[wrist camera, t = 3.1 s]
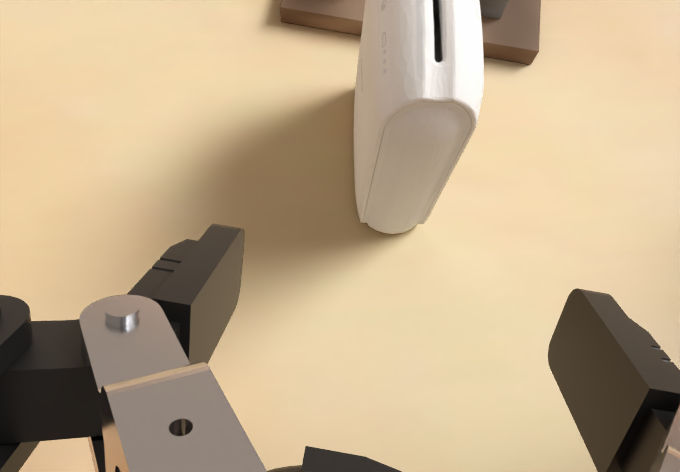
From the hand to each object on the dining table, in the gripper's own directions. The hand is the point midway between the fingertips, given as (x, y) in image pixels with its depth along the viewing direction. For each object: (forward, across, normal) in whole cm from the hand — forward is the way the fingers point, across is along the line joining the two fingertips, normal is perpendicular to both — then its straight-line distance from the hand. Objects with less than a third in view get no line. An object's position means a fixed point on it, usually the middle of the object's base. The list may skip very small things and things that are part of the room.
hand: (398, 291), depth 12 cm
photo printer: (+18, 0, +1) cm, 18 cm away
